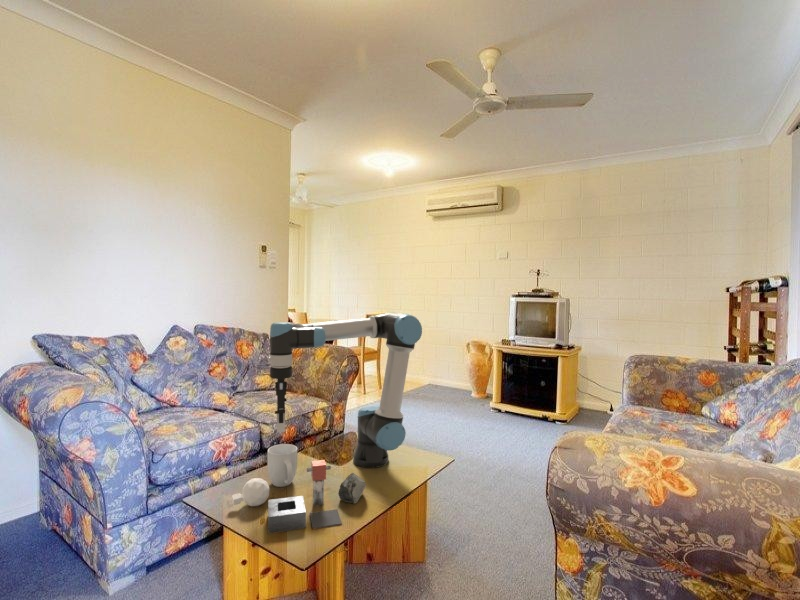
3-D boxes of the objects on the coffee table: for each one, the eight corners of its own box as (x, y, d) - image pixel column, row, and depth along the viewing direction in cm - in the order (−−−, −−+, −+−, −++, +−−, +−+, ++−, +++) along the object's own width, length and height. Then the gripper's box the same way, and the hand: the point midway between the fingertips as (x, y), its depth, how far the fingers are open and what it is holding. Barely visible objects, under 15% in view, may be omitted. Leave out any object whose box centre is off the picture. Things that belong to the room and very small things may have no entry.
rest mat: (337, 510, 144) (337, 509, 144) (341, 524, 135) (341, 523, 135) (309, 514, 141) (309, 512, 141) (312, 528, 133) (312, 527, 133)
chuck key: (329, 498, 152) (329, 459, 151) (330, 504, 147) (331, 464, 147) (305, 501, 149) (306, 461, 149) (307, 507, 145) (307, 466, 145)
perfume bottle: (266, 489, 154) (231, 501, 148) (265, 468, 151) (229, 480, 145) (273, 506, 147) (236, 519, 141) (272, 485, 144) (234, 498, 138)
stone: (347, 466, 155) (355, 476, 146) (366, 480, 158) (376, 492, 149) (330, 489, 153) (337, 501, 143) (350, 503, 156) (359, 516, 147)
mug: (305, 489, 158) (305, 454, 158) (275, 497, 152) (275, 460, 152) (291, 474, 171) (291, 441, 170) (263, 480, 165) (263, 447, 164)
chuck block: (302, 510, 143) (302, 495, 143) (305, 528, 133) (305, 512, 133) (268, 515, 140) (268, 499, 140) (268, 533, 130) (268, 517, 129)
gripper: (270, 360, 164) (270, 416, 164) (269, 373, 140) (269, 438, 140) (291, 359, 166) (291, 414, 166) (292, 372, 142) (292, 436, 142)
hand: (281, 425), depth 153 cm, fingers open, 13 cm apart
